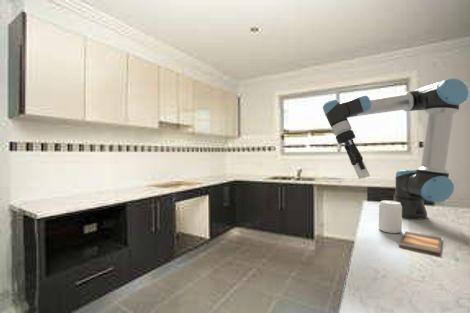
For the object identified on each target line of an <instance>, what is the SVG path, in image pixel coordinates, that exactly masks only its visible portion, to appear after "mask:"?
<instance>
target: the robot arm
mask: <svg viewBox="0 0 470 313" xmlns="http://www.w3.org/2000/svg"><path fill="white" fill-rule="evenodd" d="M468 97H469V88H468V86H467V84H465V83H464V81H462V80H461V79H459V78H455V77H454V78H447V79H442V80H440V81H437V82H435V83H433V84H432V83H431V84H429V85H426V86H425V85H424V86H423V87H420V88H418V89H415V90H411V91H405V92H403V93H402V94H398V95H391V96H383V97H377V98H375V97H374V98H370V97H369V96H368V95H367V94H366V95H365V94H362V95H357V96H355V97H353V98H351V99H347V100H345V101H342V102H340V101H339V99H338V98H336V99H330V100H329V101H328V102H326V103H324V104H323V106H322V110H323V112H324V116H325V117H326V119H327V121H328V124H329V126H330V128H331V132H333V135H334V136H335V139H336V141H337V143H338V144H339V145H341V144H344V150H345V151H346V154H347V156H348V158H349V160H350V164H351V166H352V167H353V169H354V171H355V173H356V175H357V178H358V180H361V179H365V178H368V177H370V173H369V171H368V169H367V167H366V163H365V161H364V159H363V156H362V154H361V153H360V151H359V149H358V147H357V146H356V144H355V142H354V139H355V138H356V134H355V133H354V131H353V130H352V126H351V124H350V122H349V120H348V119H349V118H353V117H360V116H368V115H375V114H382V113H389V112H398V111H404V112H413V111H414V112H415V111H425V113H426V114H428V119H427V125H426V131H425V138H424V145H423V152H422V156H421V157H422V159H421V165H420V166H419V167H418V168H416V169H409V170H407V169H406V170H405V169H403V170H398V171H396V173H395V178H394V179H395V193H394V194H395V195H394V197H395V198H394V201H396V202H400V203H401V205H402V219H411V220H425V219H427V218H428V212H427V208H426V207H425V204H424V203H425V202H424V200H425V201H427V202H433V203H442V202H445V201H446V200H447V199H450V198H451V196H452V195H453V193H454V190H455V185H454V183H453V181H452V180H451V179H450V178H449V177H450V172H449V171H448V170H447V169H446V164H447V158H448V152H449V146H450V139H451V131H452V127H453V126H452V125H453V119H454V115H456V113H458V112H460V111H459V109H460V105H462V104H463V103H464V102H465V101H466V100H467V98H468Z"/></svg>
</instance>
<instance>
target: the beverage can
mask: <svg viewBox="0 0 470 313" xmlns="http://www.w3.org/2000/svg"><path fill="white" fill-rule="evenodd" d="M402 224H403V217H402V205H401V203H400V202H396V201H395V200H386V199H385V200H384V199H383V200H380V202H379V203H378V229H379V230H380V231H382V232H384V233H388V234H399V233H402V229H403V226H402Z"/></svg>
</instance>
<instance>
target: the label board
mask: <svg viewBox="0 0 470 313" xmlns="http://www.w3.org/2000/svg"><path fill="white" fill-rule="evenodd" d="M398 247H399V248H401V249H405V250H406V249H407V250H410V251H415V252H419V253H425V254H429V255H434V256H437V257H440V256H441V248H442V237H440V236H434V235H428V234H423V233H417V232H412V231H405V232H404V235H403V236H402V238H401V240H400V242H399V244H398Z"/></svg>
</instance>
